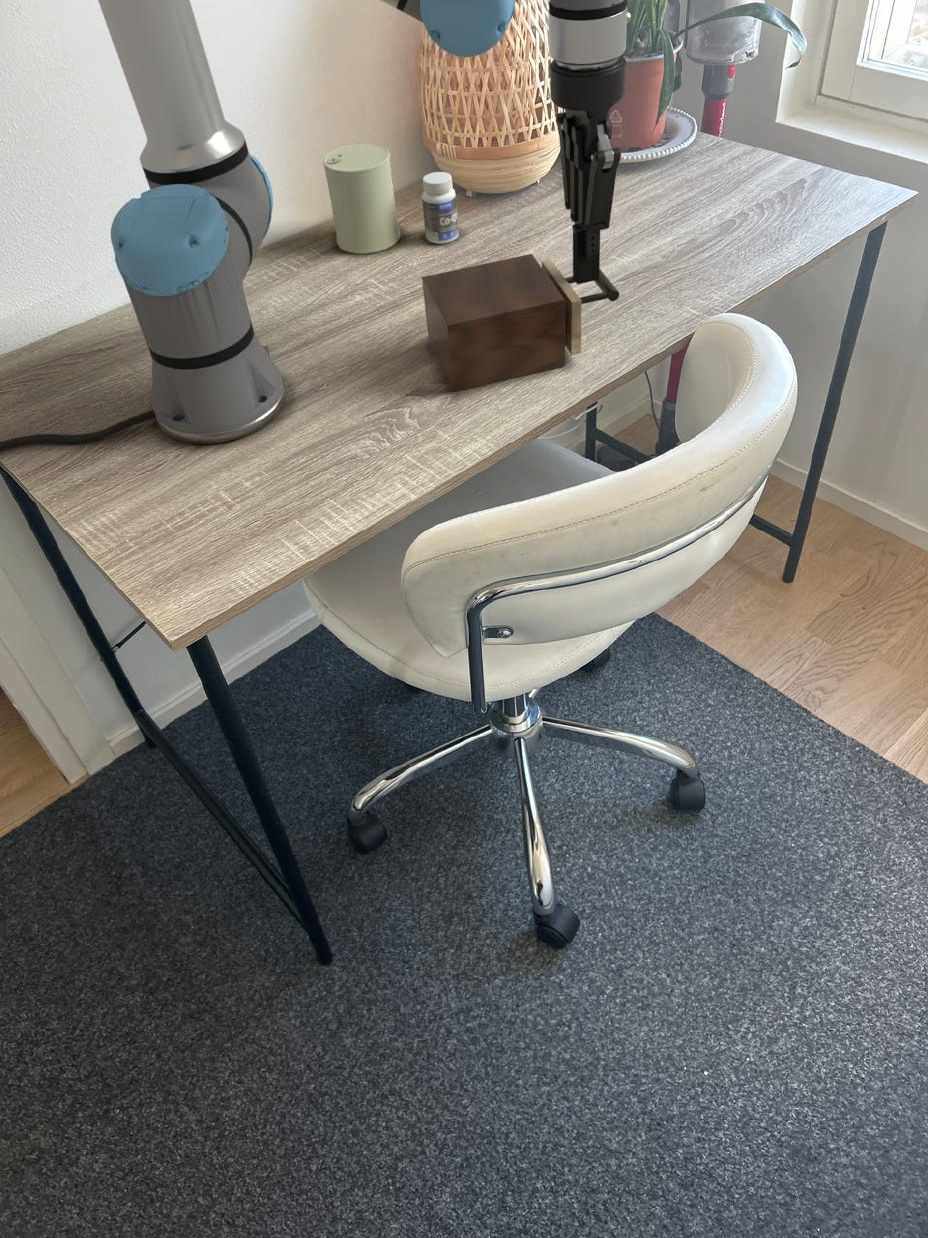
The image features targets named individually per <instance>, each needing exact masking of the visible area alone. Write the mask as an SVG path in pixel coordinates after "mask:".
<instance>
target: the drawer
mask: <svg viewBox="0 0 928 1238" xmlns="http://www.w3.org/2000/svg"><path fill="white" fill-rule="evenodd" d="M541 267H542V269H543V270H544V272H545V273H546V274H547V276H548V277H549V278H550V280H551V281H552V283H553V284H554V285H555V287H556V288H557V290H558V291H559V292H560V294H561V295H562V296H563V298H564V299H565V349H566V350H567V351H568V352H569V354H570V355H571V356H574V355H579V354H581V353H582V305H585V304H589V303H594V302H598V301H603V300H607V299H608V300H609V301H610V302H616V301H617V300H618V299H619V297H620V292H619V290H618V289H617V287H616V286H615V285H614V284H613V283H612V281H610V279H609V278H608V277H607V275H606V274H605V273H604V272H603V271H602V269H601V268H600V270H599V280H595V281H593V282H594V283H595V285H596V286H597V287H598V288H599V289H600V291H601V292H598V293H594V294H590V295H585V296H581V297H580V296H579V295H578V294H577V292H576V291H575V290H574V288H573V287H572V286H571V284H575V283H576V282H575V281H574V279H573V275H572V276H567V277H565V275H563V274H562V272H561V271H560V270H559V268H558V267H557V265H556V264H555V262H554V261H553V260H552V259H546V260H542V261H541Z"/></svg>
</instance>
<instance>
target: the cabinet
mask: <svg viewBox="0 0 928 1238" xmlns="http://www.w3.org/2000/svg"><path fill="white" fill-rule="evenodd" d="M421 283H422V293H423V301H424V309H425V318H426V319H425V320H426V327H427V328H426V329H427V336H428V342H429V345H430V346H431V348H432V350H433V352H434V354H435V356H436V359H437V361H438V363H439V364H440V366H441V369H442V370H443V372H444V374H445V376H446V379H447V380H448V383H449V385H450V387H451V389H452V391H453V393H454V392H455V393H456V392H460V391H464V390H469V389H472V388H477V387H482V386H485V385H489V384H494V383H499V382H503V381H507V380H511V379H515V378H520V377H525V376H529V375H534V374H537V373H542V372H547V371H551V370H555V369H560V368H564V367H565V366H566V346H565V299H564V298H563V296H562V295H561V294H560V292H559V291H558V290H557V288H556V287H555V285H554V284H553V283H552V281H551V280H550V278H549V277H548V276H547V274H546V273H545V272H544V270H543V269H542V265H541V264H539V262H538V261H537V259H536V257H534V255H533V254H532V253H529V254H523V255H519V256H514V257H509V258H505V259H500V260H496V261H491V262H487V263H481V264H476V265H472V266H468V267H463V268H459V269H453V270H449V271H443V272H440V273H434V274H430V275H426V276H421Z"/></svg>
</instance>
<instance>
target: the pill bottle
mask: <svg viewBox="0 0 928 1238" xmlns="http://www.w3.org/2000/svg"><path fill="white" fill-rule="evenodd" d="M422 187H423V191H422V194H421V204H422V211H423V212H422V213H423V220H424V221H423V223H424V232H425V238H426V240H427V241H428V242H430V243H433V244H437V245H440V244H441V245H443V244H448V243H451V242H453V241H455V240H457V238H459V235H460V234H459V219H458V207H457V195H456V191H455V189H454V188H453V177H452V175H451V174H450V173H448V172H444V171H433V172H430V173H428V174H425V175H424V176H423V178H422Z"/></svg>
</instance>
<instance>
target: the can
mask: <svg viewBox="0 0 928 1238" xmlns="http://www.w3.org/2000/svg"><path fill="white" fill-rule="evenodd" d="M390 156H391V155H390V151H389V149H388V148H386V147H385V146H383V145H381V144H375V143H369V142H367V143H366V142H365V143H364V142H363V143H352V144H347V145H343V146H340V147H337V148H335V149H333V150H331V151H329V152H328V153H326V154H325V156H324V157H323V160H322V164H323V168H324V173H325V177H326V183H327V188H328V193H329V194H328V195H329V198H330V204H331V211H332V217H333V221H334V229H335V234H336V244H337V246H338V248H340V250H342V251H344V252H347V253H351V254H356V255H357V254H358V255H359V254H360V255H365V254H366V255H368V254H373V253H375V254H376V253H378V252H381V251H385V250H387V249H389V248H392V247H393V246H395V245H396V244H397V243H398V242H399V241H400V238H401V231H400V228H399V221H398V215H397V214H398V213H397V207H396V200H395V192H394V186H393V176H392V167H391V159H390V158H391V157H390Z"/></svg>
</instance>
